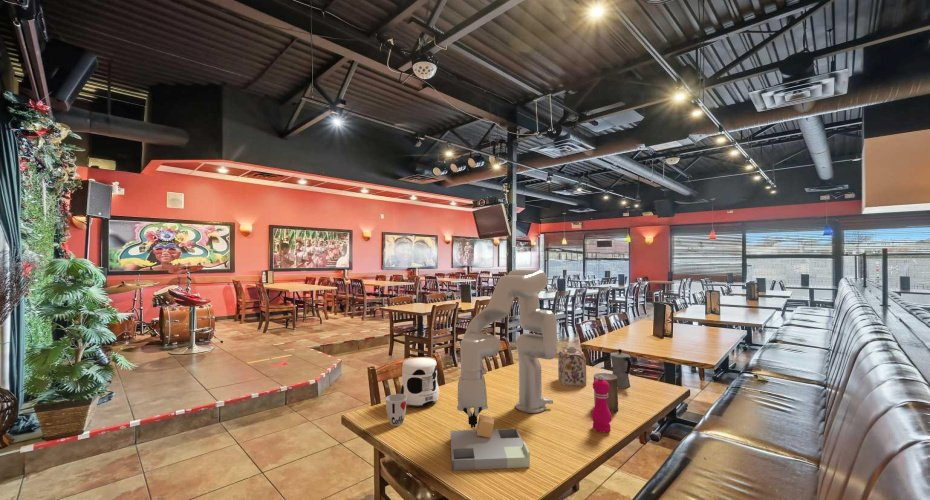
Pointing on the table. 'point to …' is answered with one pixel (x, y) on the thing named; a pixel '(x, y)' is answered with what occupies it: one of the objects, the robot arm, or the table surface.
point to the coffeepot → (621, 368)
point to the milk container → (420, 381)
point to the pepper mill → (601, 406)
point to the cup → (396, 408)
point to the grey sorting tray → (488, 450)
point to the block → (485, 426)
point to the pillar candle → (610, 390)
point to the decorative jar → (572, 367)
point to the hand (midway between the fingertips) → (472, 426)
